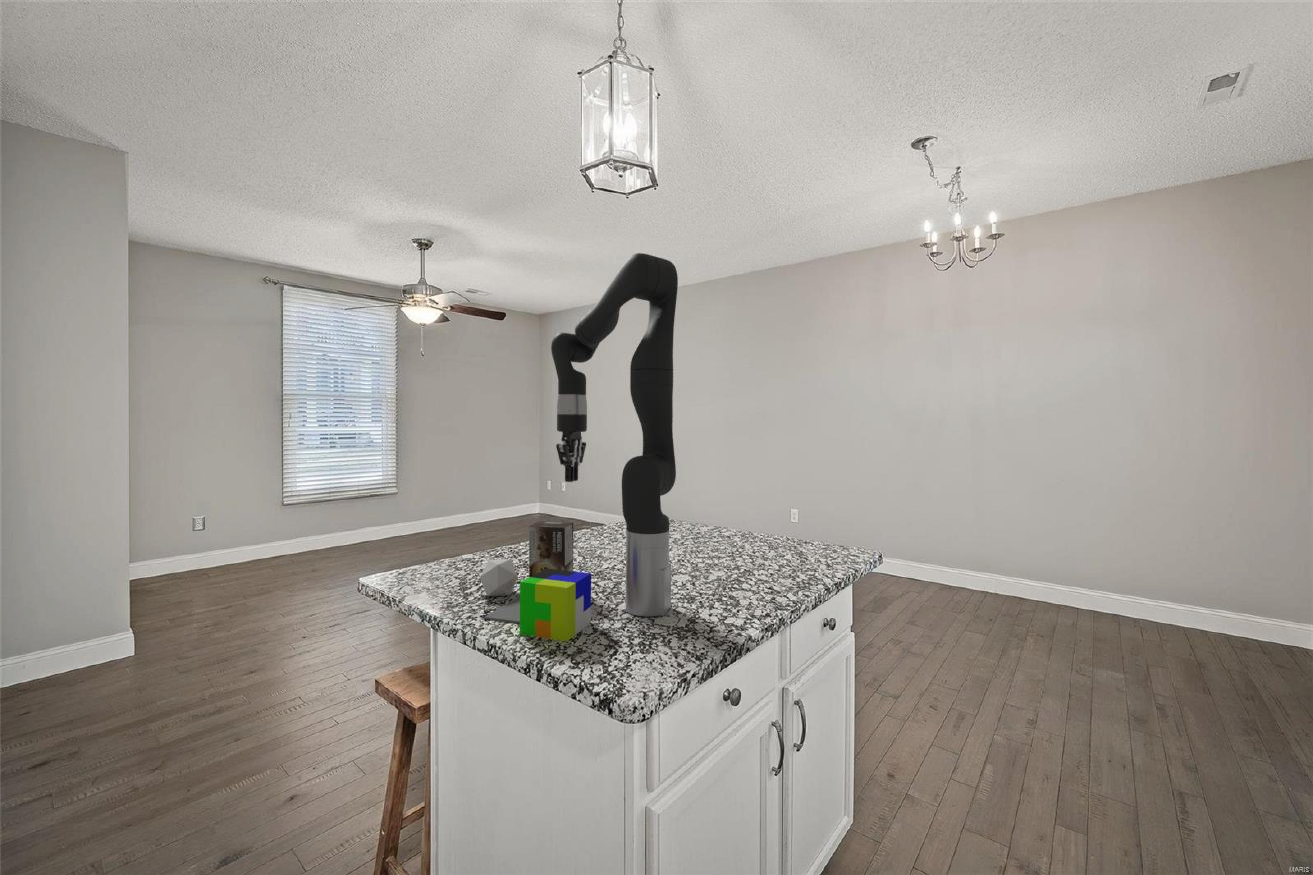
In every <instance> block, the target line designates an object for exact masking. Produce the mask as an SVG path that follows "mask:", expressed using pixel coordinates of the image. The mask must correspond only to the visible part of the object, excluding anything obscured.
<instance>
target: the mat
mask: <svg viewBox="0 0 1313 875" xmlns="http://www.w3.org/2000/svg"><path fill="white" fill-rule="evenodd" d="M484 620H490V621H500V622H506V623H515V624H520V595H518V596H516V597H515V598H513V599H511V600H509V601H508V602H506V603H505V604H503V605H502V606H500V607H498V608H497V609H495V610H493V611H492V612H490V613H488V614H487V615H485V616H484Z"/></svg>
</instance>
